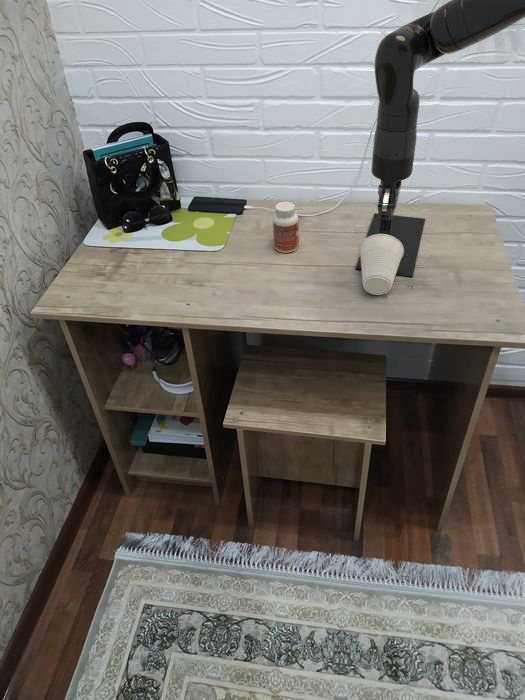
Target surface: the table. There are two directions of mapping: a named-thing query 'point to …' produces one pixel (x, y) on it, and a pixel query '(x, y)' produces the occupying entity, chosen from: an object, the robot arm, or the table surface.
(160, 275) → the table surface
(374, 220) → the mat
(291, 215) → the pill bottle
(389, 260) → the cup
